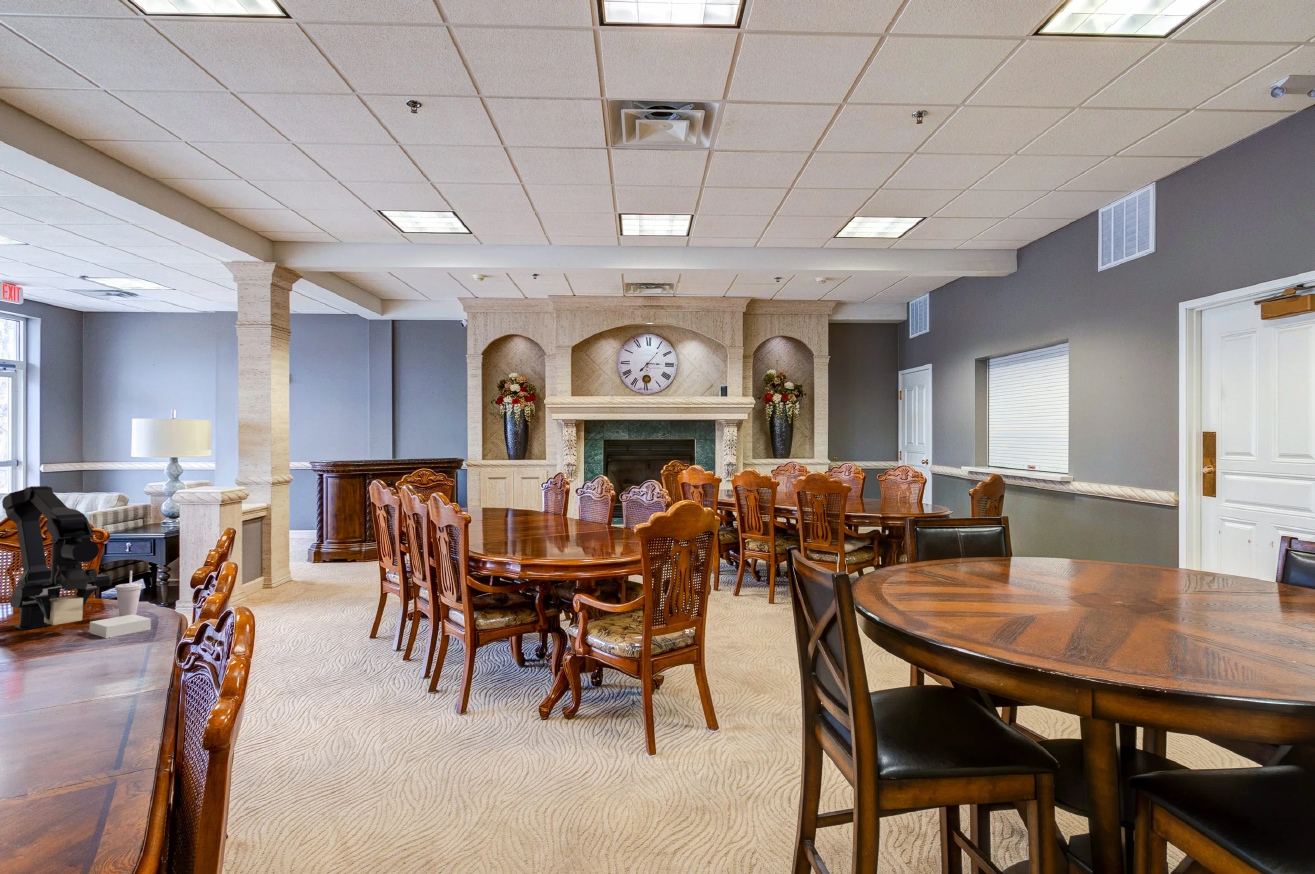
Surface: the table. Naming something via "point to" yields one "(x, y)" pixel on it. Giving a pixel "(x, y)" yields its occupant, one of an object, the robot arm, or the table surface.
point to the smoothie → (128, 597)
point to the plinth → (120, 625)
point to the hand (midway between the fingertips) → (63, 617)
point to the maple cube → (65, 610)
